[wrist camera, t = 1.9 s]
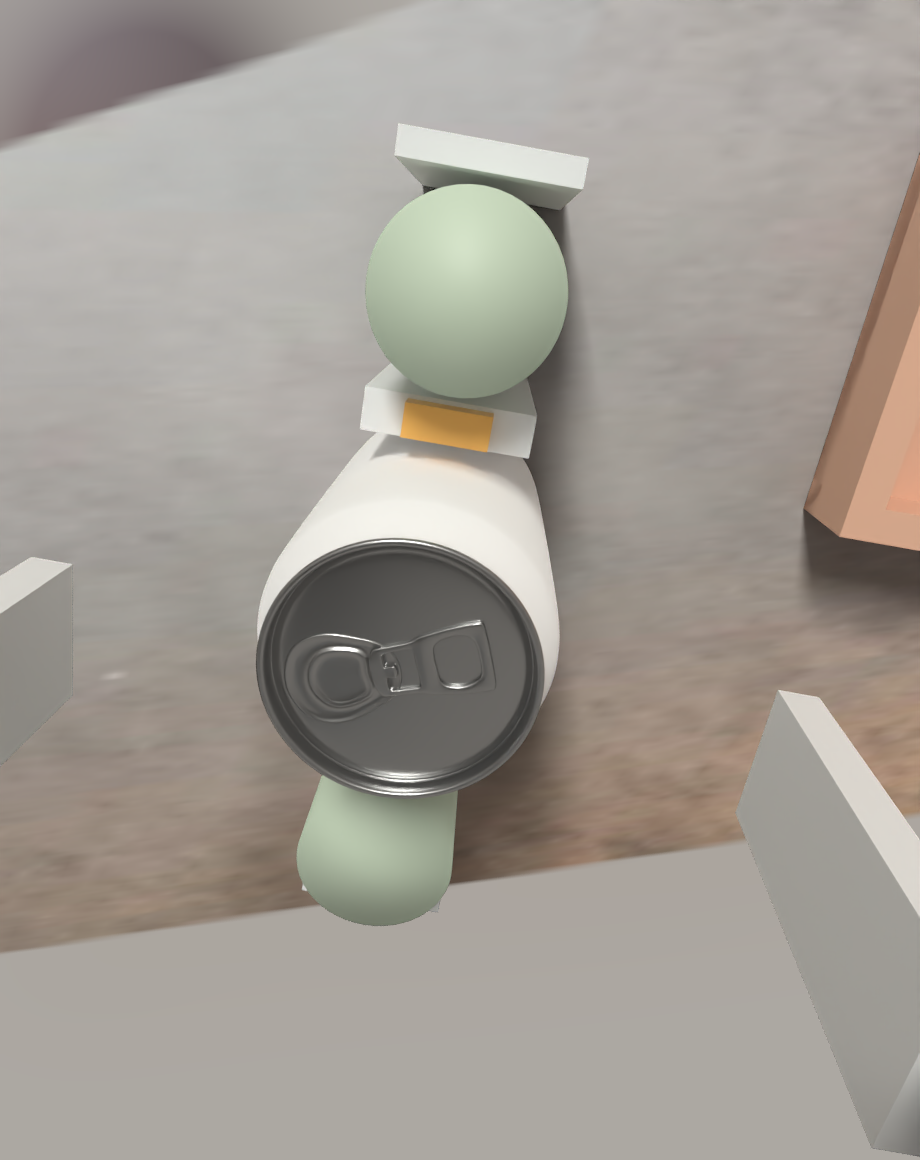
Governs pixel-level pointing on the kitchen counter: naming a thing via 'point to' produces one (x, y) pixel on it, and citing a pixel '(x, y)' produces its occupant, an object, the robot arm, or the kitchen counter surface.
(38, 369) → the kitchen counter surface
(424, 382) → the green piece
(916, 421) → the tray
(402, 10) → the kitchen counter surface
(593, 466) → the kitchen counter surface
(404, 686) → the can
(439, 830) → the peg
